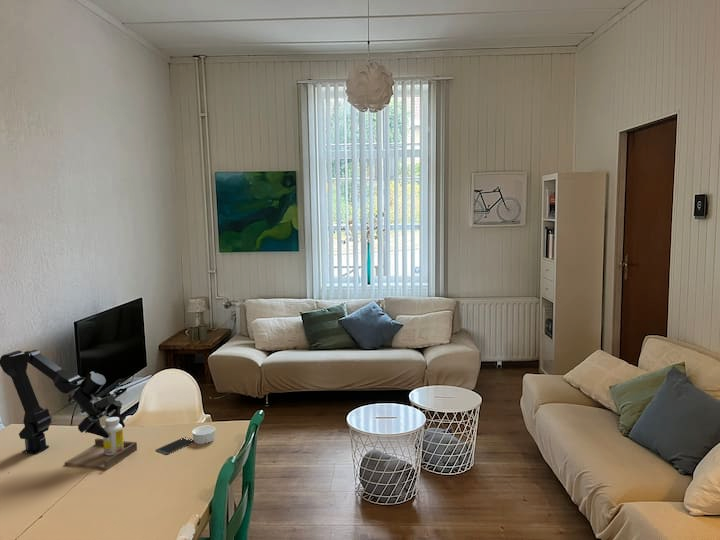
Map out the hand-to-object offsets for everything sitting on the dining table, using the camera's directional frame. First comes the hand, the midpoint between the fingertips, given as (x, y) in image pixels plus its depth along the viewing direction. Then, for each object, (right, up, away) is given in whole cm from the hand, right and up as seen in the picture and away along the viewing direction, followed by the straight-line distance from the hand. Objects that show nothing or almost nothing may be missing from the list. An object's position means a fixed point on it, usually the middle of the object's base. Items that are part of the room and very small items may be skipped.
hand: (116, 432), depth 189 cm
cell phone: (+19, -9, +8) cm, 23 cm away
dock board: (-5, -9, 0) cm, 11 cm away
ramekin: (+29, -8, +13) cm, 32 cm away
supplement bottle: (-1, -8, +1) cm, 8 cm away
